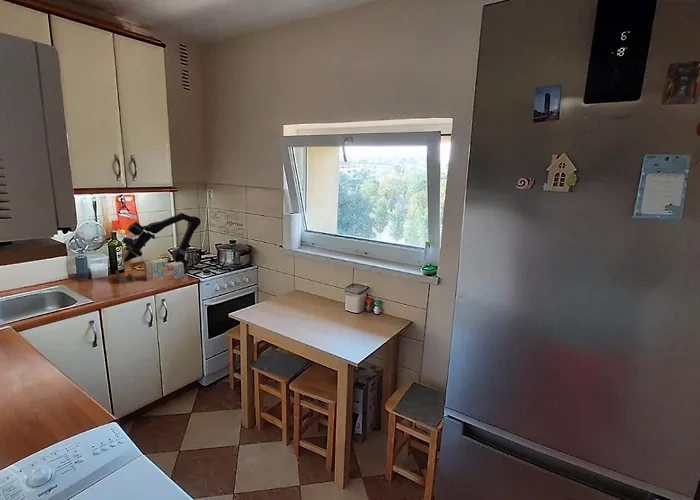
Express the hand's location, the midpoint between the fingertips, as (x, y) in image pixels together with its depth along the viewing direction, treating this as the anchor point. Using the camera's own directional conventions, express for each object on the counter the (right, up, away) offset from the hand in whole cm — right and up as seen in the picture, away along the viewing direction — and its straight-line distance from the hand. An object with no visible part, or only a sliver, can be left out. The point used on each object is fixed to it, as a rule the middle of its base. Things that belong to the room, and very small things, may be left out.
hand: (123, 260), depth 223 cm
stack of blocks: (+20, -12, +11) cm, 26 cm away
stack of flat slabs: (0, -13, +4) cm, 13 cm away
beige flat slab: (+1, -6, +2) cm, 6 cm away
